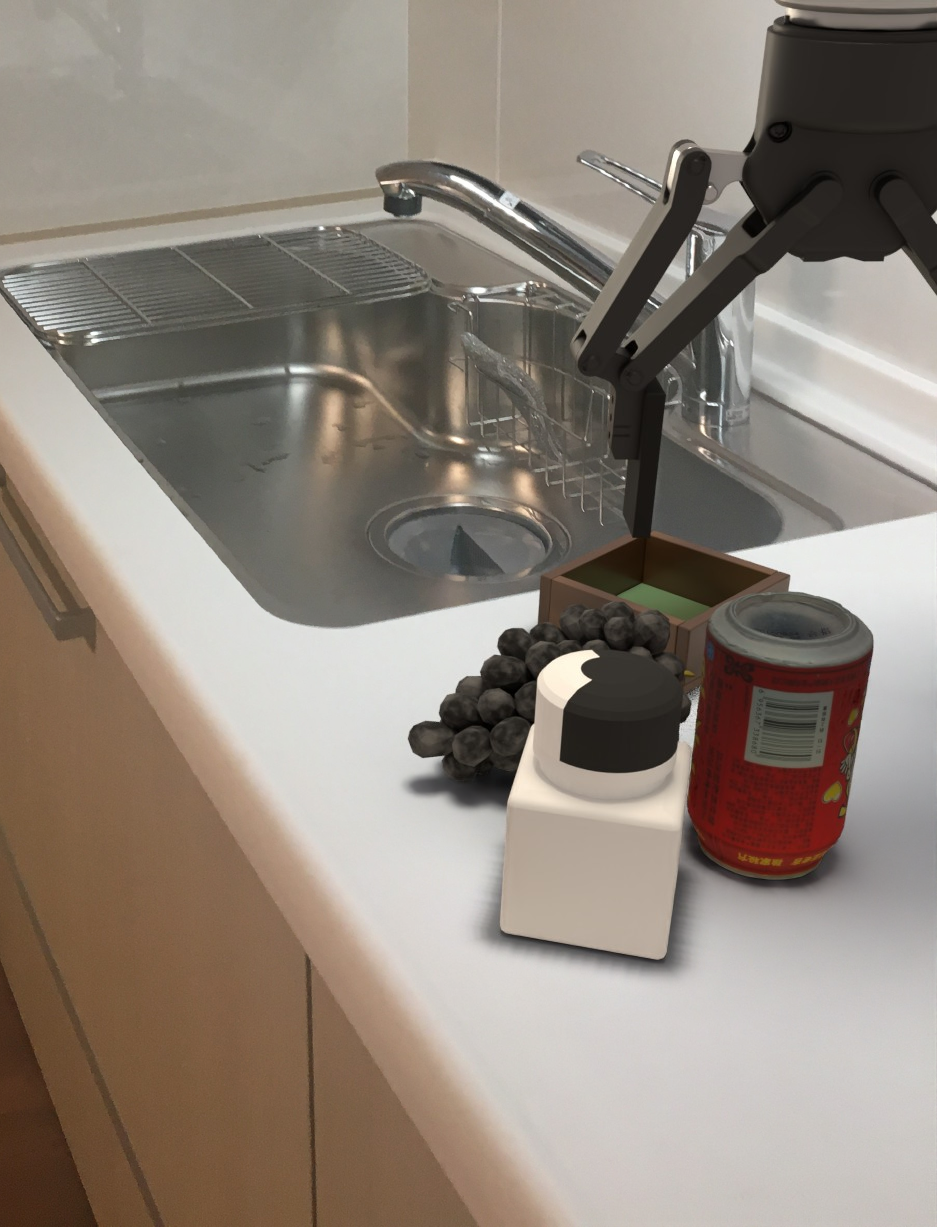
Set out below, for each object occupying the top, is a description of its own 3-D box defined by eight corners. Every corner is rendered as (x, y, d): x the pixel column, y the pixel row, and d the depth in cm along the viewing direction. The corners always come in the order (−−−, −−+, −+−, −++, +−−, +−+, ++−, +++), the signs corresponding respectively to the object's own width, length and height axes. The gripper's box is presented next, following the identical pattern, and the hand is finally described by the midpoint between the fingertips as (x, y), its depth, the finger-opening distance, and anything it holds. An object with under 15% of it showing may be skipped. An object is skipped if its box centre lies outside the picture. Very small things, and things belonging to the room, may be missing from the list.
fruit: (425, 647, 80) (713, 597, 82) (369, 627, 88) (633, 582, 90) (445, 823, 81) (729, 768, 84) (388, 786, 89) (648, 737, 92)
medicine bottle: (677, 872, 78) (704, 643, 73) (664, 964, 72) (693, 722, 67) (523, 848, 80) (538, 624, 75) (498, 935, 74) (512, 698, 69)
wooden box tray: (782, 637, 99) (791, 574, 97) (682, 696, 93) (690, 630, 91) (637, 586, 106) (643, 526, 104) (536, 637, 100) (540, 575, 98)
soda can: (863, 886, 76) (902, 647, 71) (706, 891, 77) (734, 652, 71) (810, 803, 83) (843, 577, 78) (665, 808, 83) (688, 583, 78)
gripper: (551, 33, 62) (513, 559, 71) (1270, 19, 59) (1133, 565, 69) (529, 8, 68) (497, 492, 78) (1173, -5, 66) (1060, 496, 75)
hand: (795, 528), depth 73 cm, fingers open, 13 cm apart
